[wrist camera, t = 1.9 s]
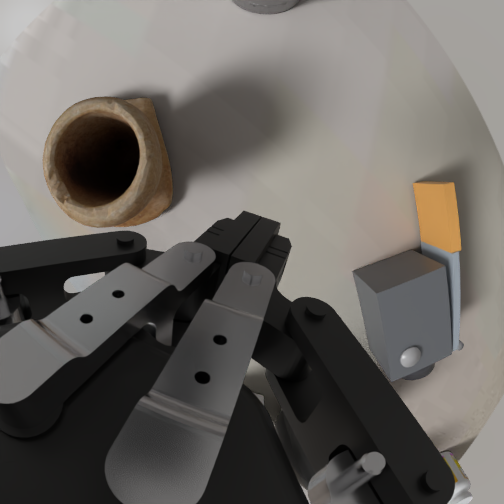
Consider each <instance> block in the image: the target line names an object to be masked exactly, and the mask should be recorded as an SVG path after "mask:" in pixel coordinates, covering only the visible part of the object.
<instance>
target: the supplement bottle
mask: <svg viewBox="0 0 504 504" xmlns="http://www.w3.org/2000/svg"><path fill="white" fill-rule="evenodd" d="M440 454H441V456H442V457H443V458H444V460H445V461H446V463H447V464H448V466H449V467H450V469H451V470H452V473H453V475H454V479H455V490H454V494H453V496H452V498H451V500H450V501H449V502H448V503H447V504H468V503H469V502H470V501H471V500H472V499H473V496H472V494H471V493H470V492H468V490H469V488H470V485H471V484H470V481H469V479H468V477H467V476H466V474H465V473H464V471H463V469H462V468H461V467H460V465H459V463H458V461H457V460H456V458H455V457H454V455H453V454H452V453H451V452H442V453H440Z"/></svg>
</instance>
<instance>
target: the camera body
mask: <svg viewBox="0 0 504 504" xmlns="http://www.w3.org/2000/svg"><path fill="white" fill-rule="evenodd" d="M352 272H353V276H354V280H355V284H356V288H357V292H358V297H359V301H360V305H361V310H362V314H363V319H364V324H365V329H366V333H367V338H368V343H369V348H370V350H371V352H372V353H373V355H374V356H375V358H376V359H377V361H378V362H379V364H380V365H381V367H382V368H383V370H384V372H385V373H386V375H387V376H388V378H389V379H390V381H391V382H393V381H395V380H398V379H400V378H402V379H405V380H416V379H420V378H423V377H425V376H427V375H428V374H429V373H430V372H431V371H432V370H433V368H434V365H435V362H437V361H439V360H441V359H443V358H445V357H447V356H449V355H451V354H452V340H451V319H450V305H449V294H448V284H447V275H446V267H445V265H443V264H440V263H438V262H436V261H434V260H432V259H430V258H428V257H426V256H424V255H422V254H420V253H417V252H415V251H413V250H409V251H406V252H403V253H401V254H398V255H395V256H393V257H390V258H387V259H385V260H382V261H379V262H376V263H374V264H371V265H368V266H365V267H362V268H360V269H357V270H354V271H352Z"/></svg>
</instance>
